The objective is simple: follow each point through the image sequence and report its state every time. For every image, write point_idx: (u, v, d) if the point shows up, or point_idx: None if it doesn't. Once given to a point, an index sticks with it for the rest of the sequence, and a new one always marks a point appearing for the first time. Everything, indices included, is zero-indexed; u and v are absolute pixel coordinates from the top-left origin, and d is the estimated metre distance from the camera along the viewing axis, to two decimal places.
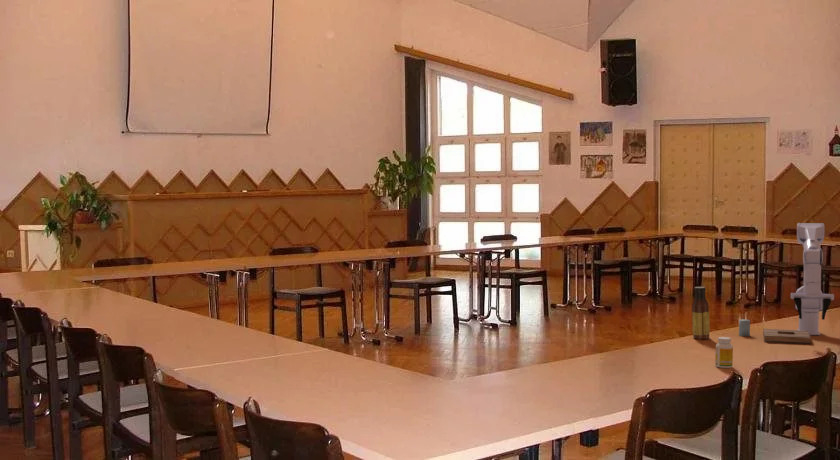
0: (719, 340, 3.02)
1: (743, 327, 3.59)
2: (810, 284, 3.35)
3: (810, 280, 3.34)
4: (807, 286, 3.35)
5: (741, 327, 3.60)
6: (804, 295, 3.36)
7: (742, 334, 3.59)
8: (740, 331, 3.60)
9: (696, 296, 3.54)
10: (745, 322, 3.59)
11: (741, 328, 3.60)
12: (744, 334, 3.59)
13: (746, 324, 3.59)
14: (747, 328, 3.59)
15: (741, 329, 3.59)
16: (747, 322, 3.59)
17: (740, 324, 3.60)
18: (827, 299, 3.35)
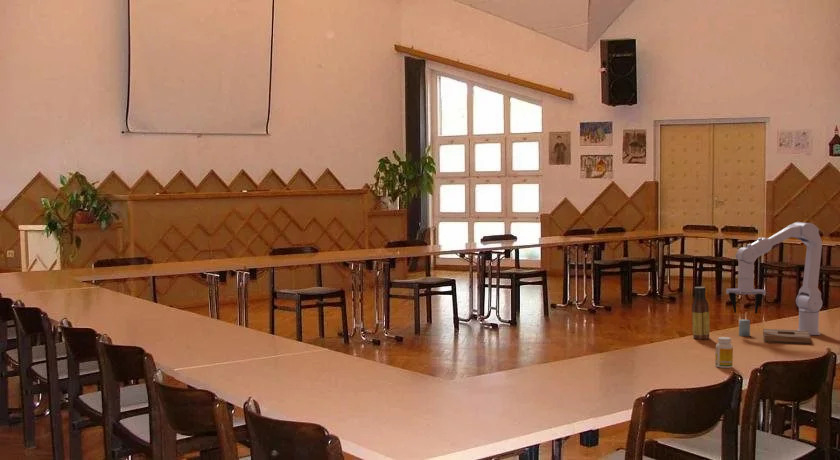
0: (719, 340, 3.02)
1: (743, 327, 3.59)
2: (743, 280, 3.57)
3: (738, 276, 3.60)
4: (741, 282, 3.58)
5: (741, 327, 3.60)
6: (738, 290, 3.58)
7: (742, 334, 3.59)
8: (740, 331, 3.60)
9: (696, 296, 3.54)
10: (745, 322, 3.59)
11: (741, 328, 3.60)
12: (744, 334, 3.59)
13: (746, 324, 3.59)
14: (747, 328, 3.59)
15: (741, 329, 3.59)
16: (747, 322, 3.59)
17: (740, 324, 3.60)
18: (759, 294, 3.57)
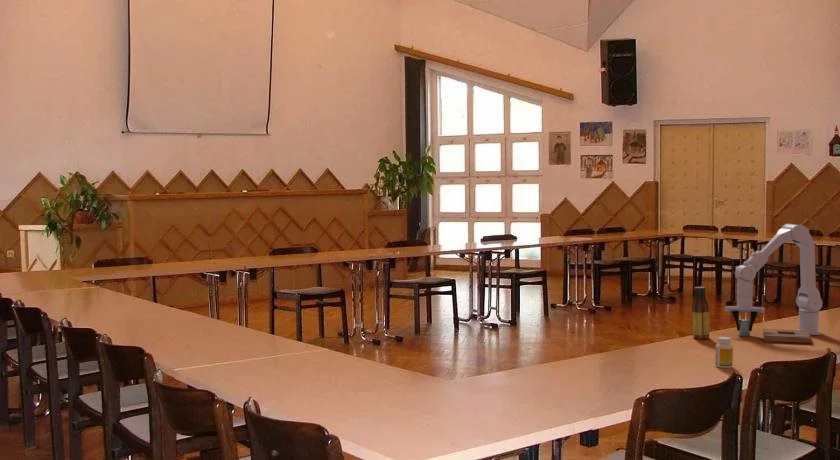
0: (719, 340, 3.02)
1: (743, 327, 3.59)
2: (742, 298, 3.58)
3: (737, 293, 3.60)
4: (739, 300, 3.59)
5: (741, 327, 3.60)
6: (737, 308, 3.59)
7: (742, 334, 3.59)
8: (740, 331, 3.60)
9: (696, 296, 3.54)
10: (745, 322, 3.59)
11: (741, 328, 3.60)
12: (744, 334, 3.59)
13: (746, 324, 3.59)
14: (747, 328, 3.59)
15: (741, 329, 3.59)
16: (747, 322, 3.59)
17: (740, 324, 3.60)
18: (758, 312, 3.58)
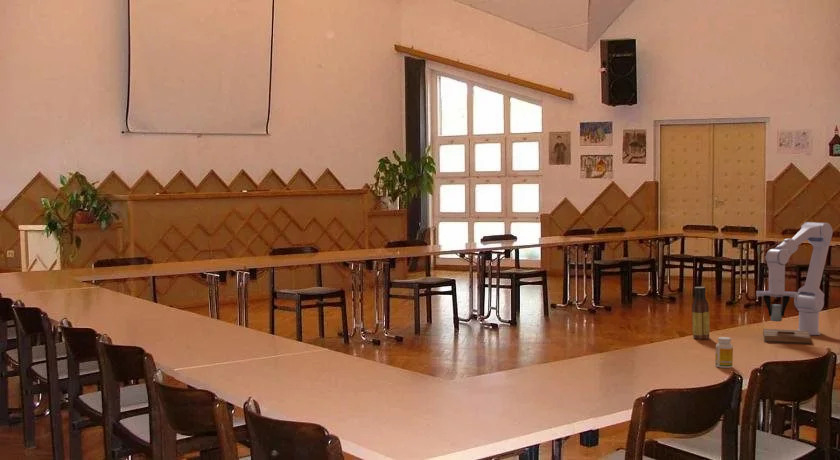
0: (719, 340, 3.02)
1: (775, 311, 3.51)
2: (774, 282, 3.50)
3: (770, 278, 3.52)
4: (771, 284, 3.51)
5: (772, 312, 3.52)
6: (769, 293, 3.52)
7: (774, 319, 3.52)
8: (772, 316, 3.53)
9: (696, 296, 3.54)
10: (777, 307, 3.51)
11: (773, 313, 3.52)
12: (776, 319, 3.51)
13: (778, 309, 3.51)
14: (779, 313, 3.51)
15: (773, 314, 3.52)
16: (779, 307, 3.51)
17: (772, 309, 3.52)
18: None
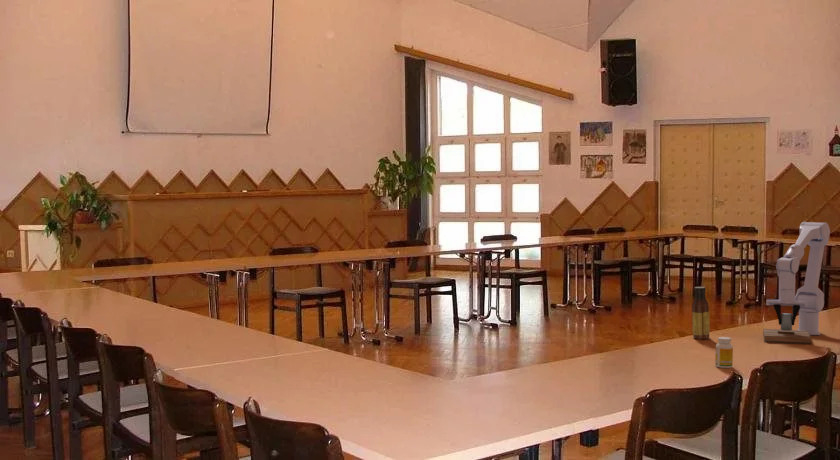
0: (719, 340, 3.02)
1: (786, 320, 3.49)
2: (784, 291, 3.48)
3: (781, 287, 3.49)
4: (782, 293, 3.49)
5: (783, 321, 3.50)
6: (779, 302, 3.49)
7: (784, 328, 3.50)
8: (782, 325, 3.50)
9: (696, 296, 3.54)
10: (787, 316, 3.49)
11: (783, 322, 3.50)
12: (786, 328, 3.49)
13: (788, 318, 3.49)
14: (789, 322, 3.49)
15: (784, 323, 3.50)
16: (789, 316, 3.49)
17: (782, 318, 3.50)
18: (801, 306, 3.48)
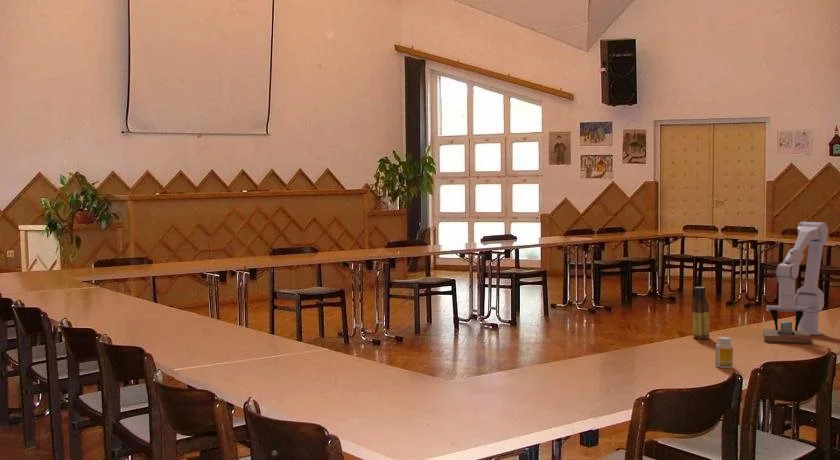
0: (719, 340, 3.02)
1: (786, 329, 3.49)
2: (784, 297, 3.48)
3: (781, 293, 3.49)
4: (781, 299, 3.49)
5: (783, 330, 3.50)
6: (779, 307, 3.50)
7: None
8: (782, 333, 3.51)
9: (696, 296, 3.54)
10: (787, 324, 3.49)
11: (783, 330, 3.50)
12: None
13: (788, 326, 3.49)
14: (789, 331, 3.49)
15: (783, 331, 3.50)
16: (789, 324, 3.49)
17: (782, 326, 3.50)
18: (801, 311, 3.48)
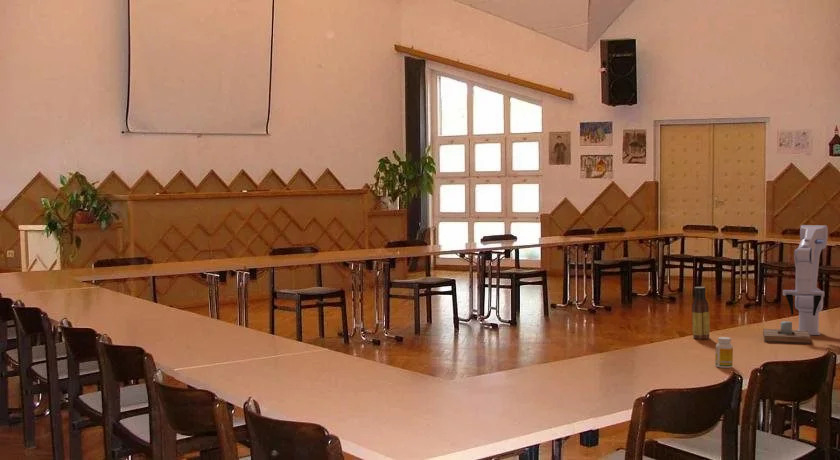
0: (719, 340, 3.02)
1: (785, 329, 3.49)
2: (801, 281, 3.48)
3: (800, 277, 3.48)
4: (798, 283, 3.49)
5: (782, 330, 3.50)
6: (795, 292, 3.49)
7: None
8: (782, 333, 3.51)
9: (696, 296, 3.54)
10: (787, 324, 3.49)
11: (783, 330, 3.50)
12: None
13: (788, 326, 3.49)
14: (789, 331, 3.49)
15: (783, 331, 3.50)
16: (789, 324, 3.49)
17: (782, 326, 3.50)
18: (818, 296, 3.48)
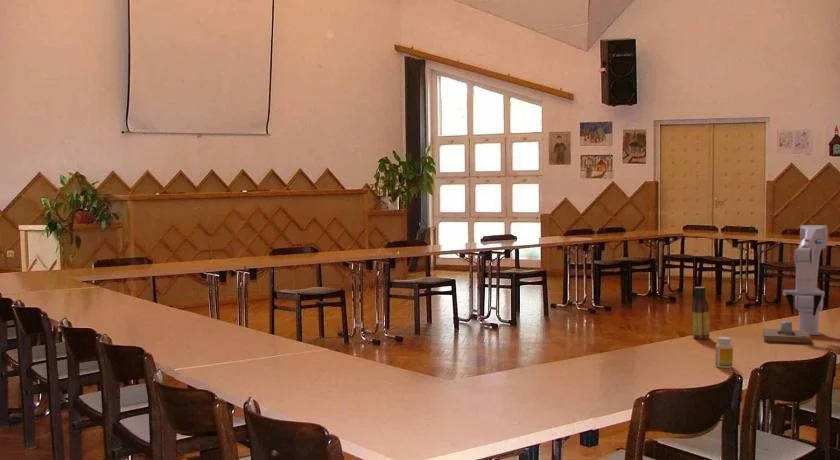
0: (719, 340, 3.02)
1: (786, 329, 3.49)
2: (801, 281, 3.48)
3: (800, 277, 3.48)
4: (798, 283, 3.49)
5: (783, 329, 3.50)
6: (796, 292, 3.49)
7: None
8: (782, 333, 3.51)
9: (696, 296, 3.54)
10: (787, 324, 3.49)
11: (783, 330, 3.50)
12: None
13: (788, 326, 3.49)
14: (789, 331, 3.49)
15: (784, 331, 3.50)
16: (789, 324, 3.49)
17: (782, 326, 3.50)
18: (818, 296, 3.48)
